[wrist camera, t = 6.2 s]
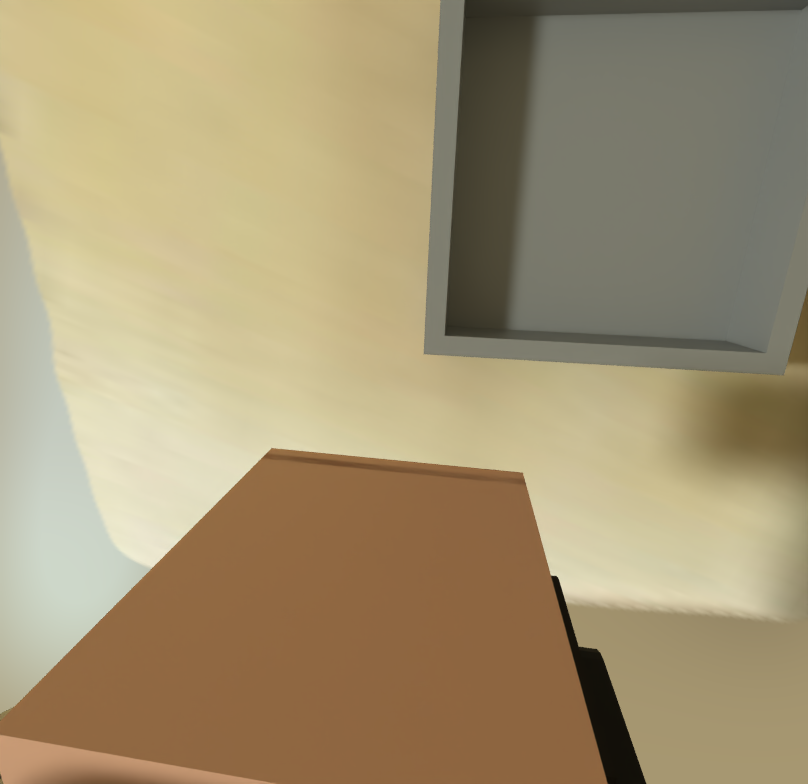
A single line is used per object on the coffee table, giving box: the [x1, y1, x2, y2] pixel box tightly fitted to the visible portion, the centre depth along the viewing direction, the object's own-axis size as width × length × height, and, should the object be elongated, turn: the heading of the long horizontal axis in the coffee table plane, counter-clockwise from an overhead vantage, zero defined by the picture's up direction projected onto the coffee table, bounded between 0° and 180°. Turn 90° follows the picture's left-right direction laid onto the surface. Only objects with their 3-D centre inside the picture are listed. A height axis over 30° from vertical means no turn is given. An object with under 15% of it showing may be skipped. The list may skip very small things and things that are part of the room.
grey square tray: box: [424, 0, 808, 375], centre depth 22 cm, size 17×17×4 cm
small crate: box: [0, 448, 607, 784], centre depth 8 cm, size 6×6×7 cm
